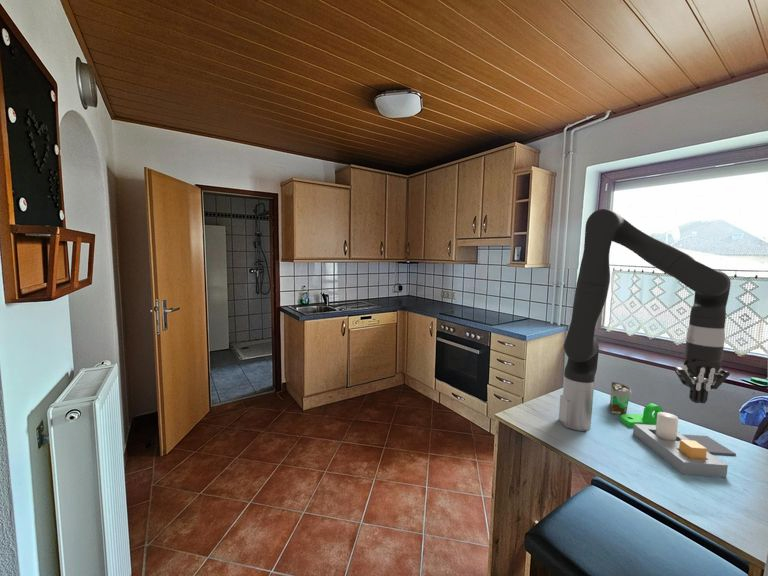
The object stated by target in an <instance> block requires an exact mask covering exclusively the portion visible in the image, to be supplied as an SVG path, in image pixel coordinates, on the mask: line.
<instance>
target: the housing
mask: <svg viewBox="0 0 768 576" xmlns="http://www.w3.org/2000/svg"><path fill="white" fill-rule="evenodd" d="M632 428H633V429H632V434H633V435H634V436H635V437H636V438H638V439H639V440H640V441H641V442H643V443H644V444H645V445H646V446H648V447H649V448H650V449H651V450H652V451H654V452H655V454H657V455H659V456H660V457H661V458H662V459H663V460H665V461H666V462H667V463H669V465H671V466H672V467H673V468H675V469H676V470H677V471H678V472H679V473H681V474H682V475H686V476H687V475H690V476H700V477H703V476H704V477H717V478H727V476H728V475H727V474H728V467H729V465H728V464H726V463H725V462H724V461H723V460H721V459H719V458H718V457H716V456H715V455H714V454H710V453H709V452H706V460H703V459H690V458H688V457H687V456H686V455H684V454H683V453H682V452H680V451H679V445H680V440H689V439H688V438H686V437H685V436H683V435H682V434H681V433H680V432H678V431H677V436H676V441H667V440H661V439H660V438H659V437H657V436H656V435H655V433H656V425H645V424H634V427H632Z"/></svg>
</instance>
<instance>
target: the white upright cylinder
mask: <svg viewBox="0 0 768 576" xmlns="http://www.w3.org/2000/svg"><path fill="white" fill-rule="evenodd" d="M678 427H679V417H678V416H677V415H675V414H672V413H671V412H670V413H669V412H664V411H663V412H658V413H657V423H656V433H655V435H656V436H657V437H659V438H660V439H661V440H667V441H676V436H677V432H678Z"/></svg>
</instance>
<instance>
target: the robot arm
mask: <svg viewBox="0 0 768 576" xmlns="http://www.w3.org/2000/svg"><path fill="white" fill-rule="evenodd" d="M586 219H587V220H586V221H585V231H584V244H583V252H582V259H581V262H580V265H579V266H580V267H579V272H578V276H577V281H576V285H575V292H574V298H573V305H572V313H571V320H570V324H569V328H568V330H567V334H566V337H565V340H564V343H563V349H564V352H565V355H566V356H567V362H566V365H565V368H564V371H563V386H562V387H563V389H562V394H560V397H559V406H558V407H559V408H558V409H559V410H558V421H559V422H560V423H561V424H562V426H564V427H565V428H567V429H572V430H575V431H579V432H586V431H589V430H591V428H592V427H591V425H592V417H593V404H594V401H593V400H594V393H595V392H594V390H595V379H596V378H595V376H596V373H597V370H598V363H599V362H598V361H599V354H600V353H599V352H600V350H599V349H600V347H599V346H600V345H599V342H598V340H597V338H596V337H595V331H596V327H597V322H598V319H599V318H600V316H601V313H602V311H603V309H604V306H605V304H606V300H607V297H608V294H609V293H608V292H609V288H610V282H611V270H610V269H611V268H610V258H609V257H610V250H611V246H612V243H616V244H619V245H621V246H623V247H625V248H627V249H628V250H630V251H631V252H633V253H635V255H637V256H638V257H640V258H641V259H642V260H644V261H646V262H647V263H648V264H649V265H650V266H652V267H654V268H656V269H658V270H660V271H661V272H663V273H664V274H666V275H668V276H670V277H673V278H675V279H676V280H677V281H678V282H680V283H682V284H683V285H684V286H686V287H687V288H688V289H690V290H692V291H694V298H693V305H692V306H691V309H690V313H689V322H688V328H687V331H686V332H687V333H686V338H685V347H684V348H685V349H684V355H685V360H684V362H683V364H682V365H681V366H680V367H678V366H674V367H673V371H674V372H675V374H676V375H677V377H678V378H679V380H680V382H681V383H682V385H684V386H686V387H688V388H689V396H688V398H689V400H690V401H691V402H693V403H694V404H704V405H705V404H706V402H708V397H709V396H708V395H709V392H710V391H711V390H717V389H718V388H719V387H720V386H721V385H723V383H724V382H725V381H726V380H727V379H728V377H730V374H731V373H730V372H729V371H727V370H725V369H723V368H722V365H721V363H720V362H722V361H723V357H724V355H723V354H724V348H725V339H726V338H725V337H726V334H725V333H726V332H725V327H726V317H727V313H726V312H727V311H726V310H727V304H728V302H729V300H728V299H729V295H730V290H731V279H730V276H729V275H728V274H727V273H725V272H723V271H721V270H715V269H714V268H711V267H709V266H708V265H705V264H703V263H701V262H700V261H697V260H696V259H695V258H694V257H692V256H691V255H689V254H687V253H685V252H684V251H682V250H680V249H678V248H676V247H674V246H673V245H671V244H669V243H667V242H664V241H662V240H660V239H658V238H655V237H653V236H651V235H650V234H647V233H646V232H643V231H642V230H640V229H639V228H637V227H636V226H634V225H633V224H632V223H630V222H629V221H628V220H626V219H625V218H624V217H623V216H622V215H621V214H620V213H618V212H616V211H613V210H612V209H608V208H601V209H597V210H595V211H593V212H592V213H591V214H590V215H589V217H588V218H586Z"/></svg>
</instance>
